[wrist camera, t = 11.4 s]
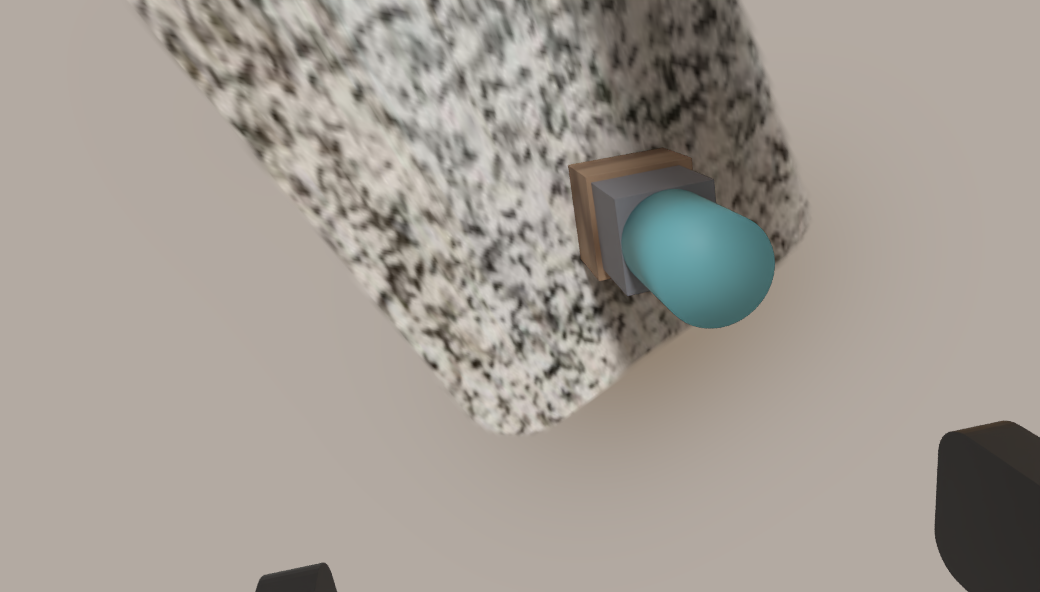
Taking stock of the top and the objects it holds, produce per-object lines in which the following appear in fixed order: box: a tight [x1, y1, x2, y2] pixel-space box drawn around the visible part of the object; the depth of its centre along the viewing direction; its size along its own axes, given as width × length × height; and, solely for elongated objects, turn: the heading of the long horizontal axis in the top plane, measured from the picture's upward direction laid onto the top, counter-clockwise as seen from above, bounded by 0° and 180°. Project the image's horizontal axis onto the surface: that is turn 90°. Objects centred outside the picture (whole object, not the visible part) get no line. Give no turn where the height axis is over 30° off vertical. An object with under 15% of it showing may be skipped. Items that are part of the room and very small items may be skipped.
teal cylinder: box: [621, 189, 775, 328], centre depth 33 cm, size 5×5×6 cm
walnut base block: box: [568, 148, 693, 281], centre depth 43 cm, size 6×6×5 cm
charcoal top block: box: [591, 165, 716, 296], centre depth 38 cm, size 5×5×5 cm
